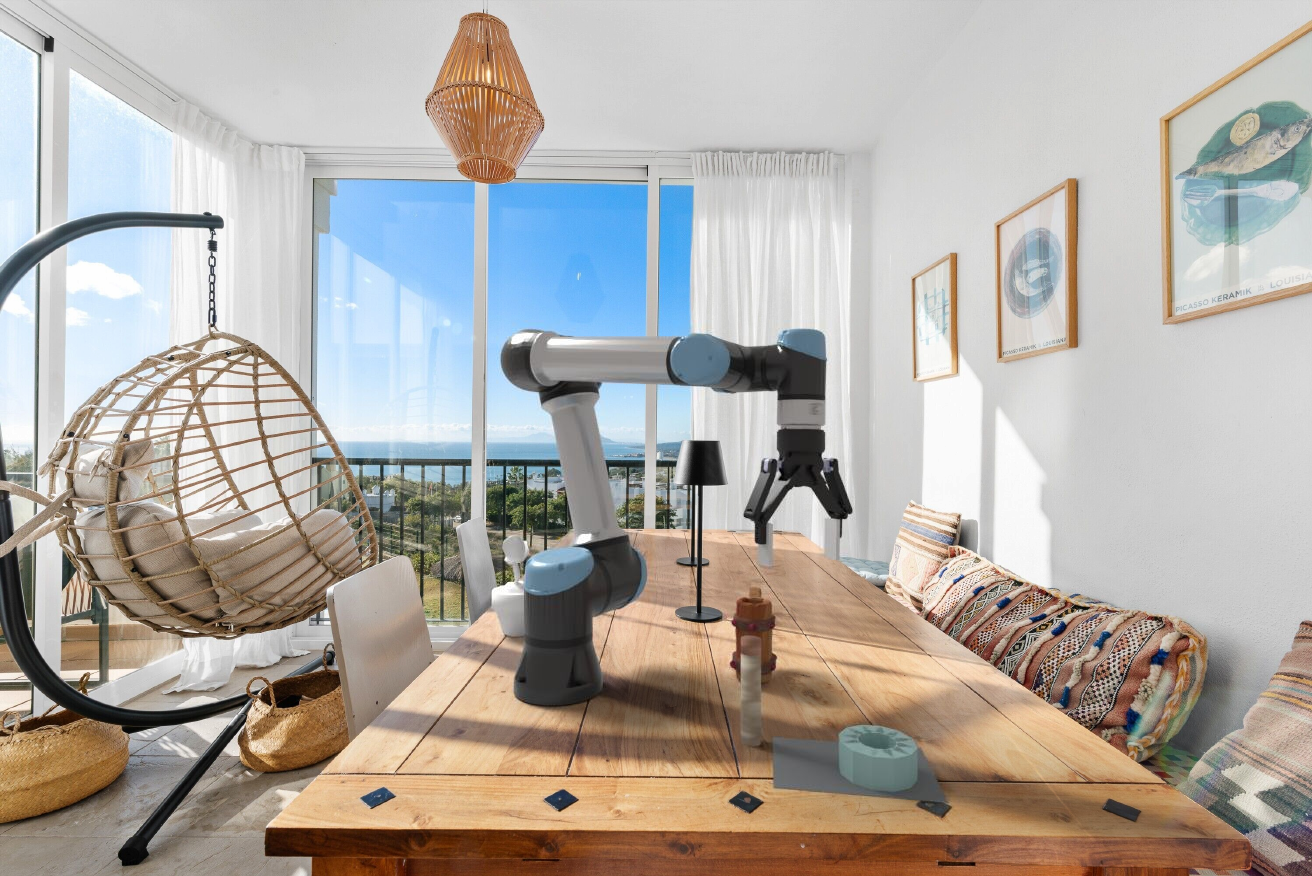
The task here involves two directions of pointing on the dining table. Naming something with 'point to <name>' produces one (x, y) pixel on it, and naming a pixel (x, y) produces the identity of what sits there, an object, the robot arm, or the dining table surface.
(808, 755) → the mat
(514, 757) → the dining table surface
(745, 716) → the dowel
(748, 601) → the wooden banded keg
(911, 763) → the bead
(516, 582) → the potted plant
